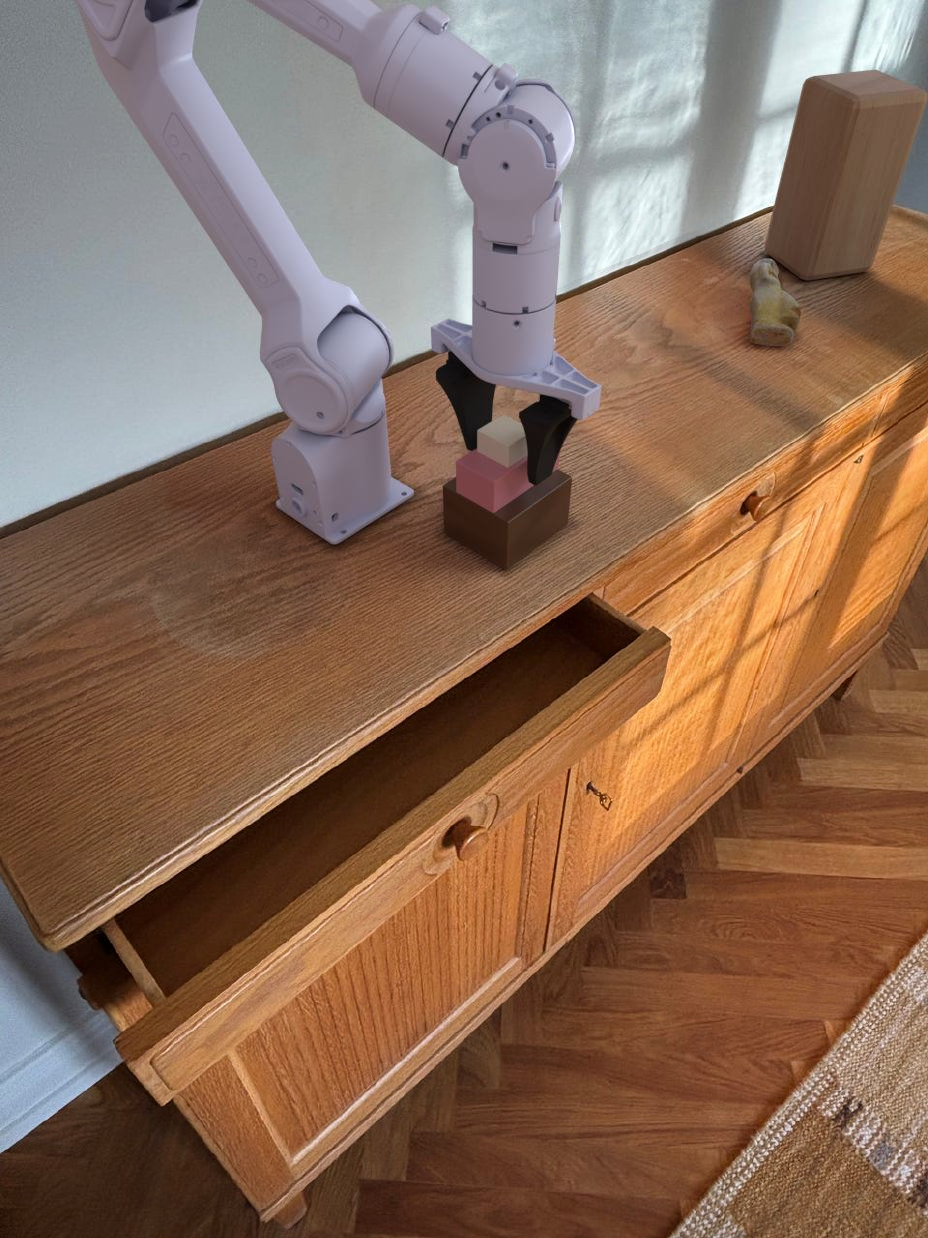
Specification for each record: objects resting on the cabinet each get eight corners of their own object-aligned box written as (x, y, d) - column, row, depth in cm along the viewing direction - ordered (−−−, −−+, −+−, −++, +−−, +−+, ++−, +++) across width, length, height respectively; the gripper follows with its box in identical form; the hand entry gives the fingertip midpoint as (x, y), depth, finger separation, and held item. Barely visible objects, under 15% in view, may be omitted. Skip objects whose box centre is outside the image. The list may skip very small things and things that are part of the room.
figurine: (813, 331, 92) (803, 253, 101) (772, 309, 91) (765, 232, 100) (781, 366, 96) (773, 288, 105) (740, 345, 95) (736, 268, 104)
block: (759, 251, 112) (801, 74, 98) (826, 241, 114) (877, 66, 100) (802, 284, 105) (854, 98, 91) (873, 273, 107) (935, 89, 93)
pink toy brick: (493, 513, 67) (494, 460, 63) (456, 492, 69) (455, 438, 65) (558, 468, 71) (563, 415, 67) (521, 449, 73) (524, 396, 69)
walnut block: (506, 571, 70) (507, 522, 66) (443, 533, 73) (442, 485, 69) (568, 524, 74) (572, 476, 70) (506, 490, 77) (507, 443, 74)
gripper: (636, 308, 57) (613, 476, 67) (475, 247, 64) (475, 407, 74) (570, 347, 54) (555, 518, 63) (407, 278, 61) (416, 442, 70)
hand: (508, 461), depth 68 cm, fingers open, 6 cm apart
